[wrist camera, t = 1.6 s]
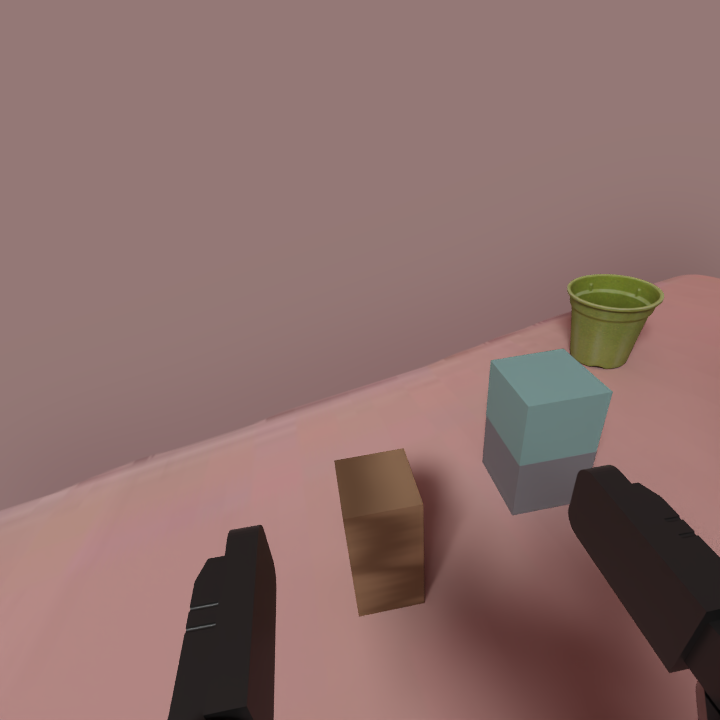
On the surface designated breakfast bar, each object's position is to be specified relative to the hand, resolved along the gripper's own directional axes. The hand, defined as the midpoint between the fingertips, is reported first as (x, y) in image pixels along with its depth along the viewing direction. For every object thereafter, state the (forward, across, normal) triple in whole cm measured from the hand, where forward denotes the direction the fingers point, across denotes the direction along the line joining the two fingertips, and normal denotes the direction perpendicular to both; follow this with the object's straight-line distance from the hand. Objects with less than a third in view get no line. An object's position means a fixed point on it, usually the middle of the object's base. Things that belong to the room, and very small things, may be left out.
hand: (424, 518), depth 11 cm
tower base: (+17, -14, +20) cm, 30 cm away
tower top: (+17, -14, +14) cm, 27 cm away
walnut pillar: (+11, 0, +20) cm, 23 cm away
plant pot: (+33, -31, +20) cm, 50 cm away
